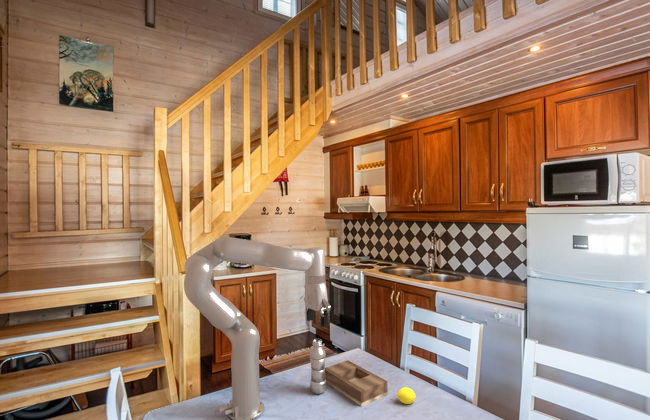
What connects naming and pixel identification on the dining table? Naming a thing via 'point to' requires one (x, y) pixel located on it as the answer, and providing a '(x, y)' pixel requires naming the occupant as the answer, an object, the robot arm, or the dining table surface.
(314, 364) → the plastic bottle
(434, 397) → the dining table surface
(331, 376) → the brown slotted block
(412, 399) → the lemon
